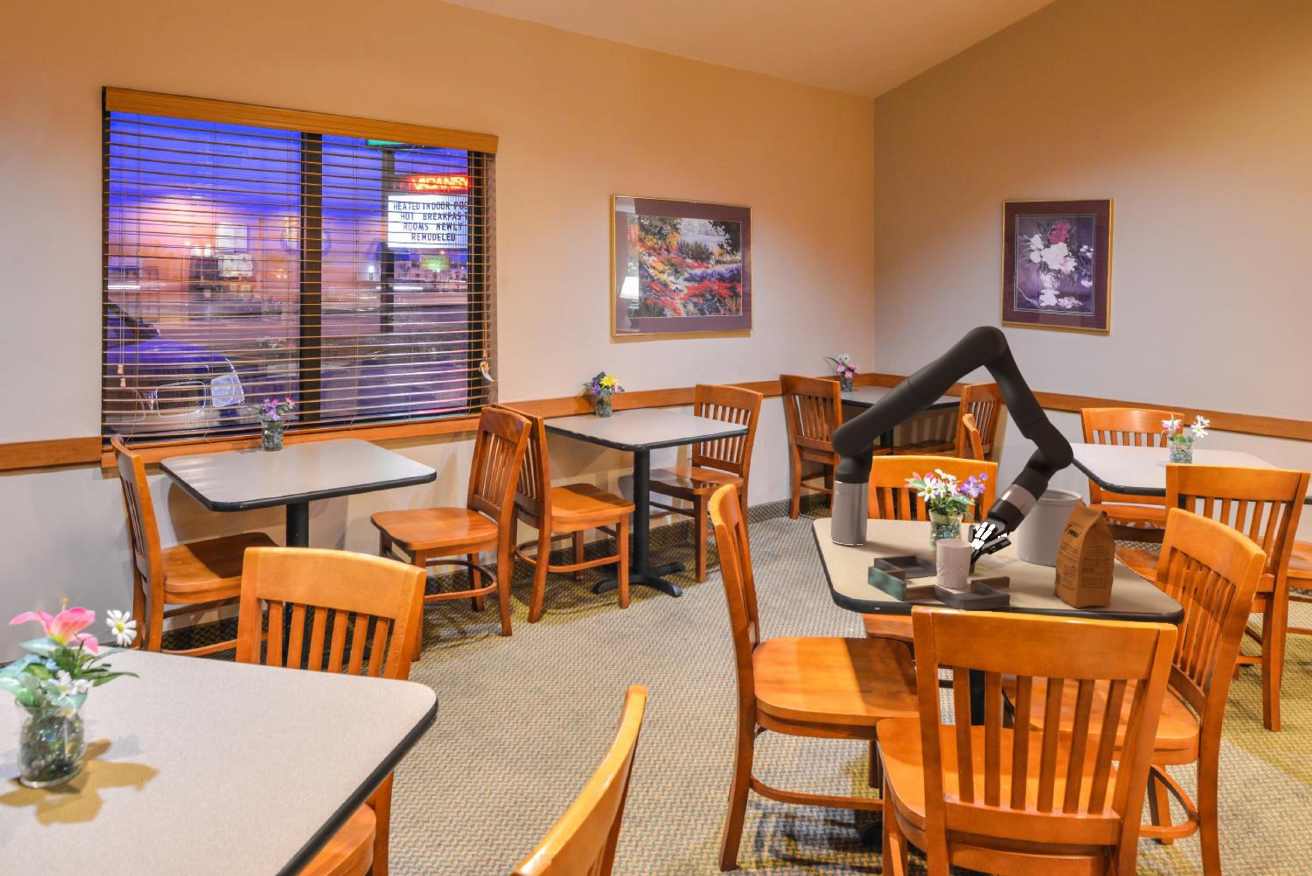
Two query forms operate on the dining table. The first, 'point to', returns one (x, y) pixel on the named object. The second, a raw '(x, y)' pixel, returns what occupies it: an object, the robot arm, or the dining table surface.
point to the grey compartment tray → (898, 568)
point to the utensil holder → (1045, 526)
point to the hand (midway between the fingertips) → (966, 562)
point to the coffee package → (1085, 559)
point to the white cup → (953, 562)
